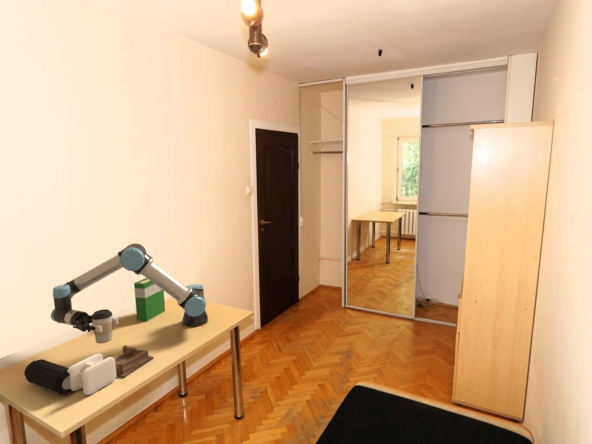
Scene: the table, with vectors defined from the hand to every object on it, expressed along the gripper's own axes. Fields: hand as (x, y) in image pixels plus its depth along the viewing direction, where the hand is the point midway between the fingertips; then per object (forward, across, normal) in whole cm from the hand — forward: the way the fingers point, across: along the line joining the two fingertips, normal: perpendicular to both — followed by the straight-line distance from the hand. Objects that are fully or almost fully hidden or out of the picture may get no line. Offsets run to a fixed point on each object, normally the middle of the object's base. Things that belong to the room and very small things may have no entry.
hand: (109, 325), depth 176 cm
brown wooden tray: (+8, 0, -18) cm, 20 cm away
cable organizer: (+10, +19, -19) cm, 28 cm away
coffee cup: (-5, 0, -9) cm, 10 cm away
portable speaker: (-6, +26, -19) cm, 32 cm away
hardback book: (-25, -51, -18) cm, 59 cm away
